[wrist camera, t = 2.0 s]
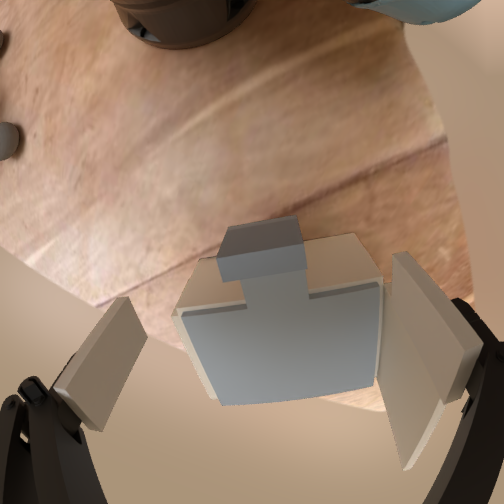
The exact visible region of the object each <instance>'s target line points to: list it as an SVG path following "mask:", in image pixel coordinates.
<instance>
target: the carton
mask: <svg viewBox="0 0 504 504" xmlns="http://www.w3.org/2000/svg"><path fill="white" fill-rule="evenodd" d="M303 242H304V247H305V254H306V261H307V268H308V269H305V271H306V278H307V285H308V293H309V294H313V293H318V292H324V291H330V290H335V289H341V288H346V287H352V286H357V285H362V284H367V283H372V282H378V284H379V286H380V305H379V327H378V342H377V354H376V365H375V374H374V378H375V377H377V381H378V384H379V387H380V390H381V394H382V397H383V400H384V403H385V407H386V410H387V413H388V417H389V420H390V424H391V428H392V431H393V435H394V439H395V442H396V446H397V450H398V454H399V458H400V462H401V466H402V470H403V471H405V470H408V469H411V468H412V466H413V465H414V463H415V462H416V460H417V458H418V457H419V455H420V453H421V452H422V450H423V448H424V447H425V445H426V443H427V442H428V440H429V438H430V436H431V434H432V433H433V431H434V429H435V427H436V425H437V423H438V421H439V419H440V417H441V415H442V413H443V411H444V409H445V407H446V405H447V404H445V405H443V403H442V400H441V398H440V396H439V394H438V392H437V390H436V387H435V385H434V383H433V381H432V379H431V377H430V375H429V373H428V371H427V369H426V367H425V365H424V363H423V361H422V359H421V357H420V355H419V353H418V351H417V349H416V347H415V345H414V343H413V342H412V340H411V338H410V336H409V334H408V332H407V330H406V329H405V327H404V325H403V323H402V321H401V320H400V318H399V316H398V314H397V313H396V311H395V309H394V307H393V306H392V304H391V294H392V282H390V283H386V284H383V274H382V273H381V271H380V270H379V268H378V267H377V265H376V264H375V262H374V261H373V259H372V258H371V256H370V255H369V253H368V252H367V251H366V249H365V248H364V246H363V245H362V243H361V242H360V240H359V239H358V238H357V236H356V235H355V233H349V234H343V235H337V236H331V237H325V238H320V239H314V240H308V241H303ZM216 257H217V256H215V257H209V258H203V259H200V260H199V262H198V264H197V266H196V268H195V270H194V272H193V274H192V276H191V278H190V279H189V280H188V282H187V284H186V286H185V288H184V290H183V292H182V294H181V296H180V298H179V300H178V302H177V304H176V307H175V309H174V311H173V313H172V315H171V318H172V320H173V323H174V325H175V327H176V329H177V332H178V334H179V336H180V338H181V340H182V343H183V345H184V347H185V349H186V351H187V353H188V355H189V357H190V359H191V362H192V363H193V366H194V368H195V370H196V372H197V373H198V376H199V378H200V380H201V382H202V384H203V385H204V387H205V389H206V391H207V393H208V395H209V397H210V399H217V398H218V397H217V395H216V393H215V391H214V389H213V387H212V385H211V383H210V381H209V379H208V377H207V375H206V373H205V370H204V368H203V366H202V364H201V362H200V360H199V358H198V355H197V353H196V351H195V349H194V347H193V344H192V342H191V340H190V337H189V335H188V333H187V331H186V328H185V326H184V324H183V321H182V319H181V315H182V313H183V312H185V311H194V310H202V309H210V308H218V307H226V306H234V305H241V304H246V301H245V297H244V294H243V290H242V286H241V283H240V280H237V281H230V282H224V283H223V281H222V278H221V275H220V271H219V268H218V264H217V261H216Z"/></svg>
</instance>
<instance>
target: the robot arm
mask: <svg viewBox="0 0 504 504" xmlns="http://www.w3.org/2000/svg"><path fill="white" fill-rule="evenodd" d="M110 1H112V2H114V5H115V7H116V10H117V12H118V14H119V17H120V19H121V21H122V23H123V25H124V26H125V27H126V29H127V30H128V31H129V32H130V33H131V34H133V35H134V36H135V37H137V38H139V39H140V40H142V41H144V42H146V43H148V44H150V45H153V46H156V47H160V48H165V49H185V48H192V47H197V46H200V45H204V44H207V43H209V42H212V41H214V40H217V39H219V38H221V37H222V36H224V35H226V34H228V33H229V32H231V31H232V30H233V29H235V28H236V27H237V26H238V25H240V24H241V23H242V22H243V21H244V20H245V19H246V17H247V16H248V15H249V14H250V12H251V11H252V9H253V7H254V6H255V3H256V1H257V0H110ZM343 1H346V2H347V3H348V4H350V5H352V6H354V7H356V8H364V9H370V10H373V11H376V12H379V13H382V14H385V15H387V16H390V17H392V18H395V19H397V20H399V21H402V22H405V23H409V24H414V25H427V24H432V23H435V22H438V23H439V22H445V21H447V20H450V19H453V18H455V17H457V16H459V15H461V14H463V13H464V12H466V11H468V10H469V9H471V8H472V7H473V6H475V5H476V4H477V3H479V2H480V1H481V0H343ZM391 304H392V306H393V307H394V309H395V311H396V313H397V314H398V316H399V318H400V320H401V321H402V323H403V325H404V327H405V329H406V330H407V332H408V334H409V336H410V338H411V340H412V342H413V343H414V345H415V347H416V349H417V351H418V353H419V355H420V357H421V359H422V361H423V363H424V365H425V367H426V369H427V371H428V373H429V375H430V377H431V379H432V381H433V383H434V385H435V387H436V390H437V392H438V394H439V396H440V398H441V400H442V403H443V405H445V404H448V403H450V402H453V401H455V400H458V399H460V398H461V397H462V395H463V392H464V390H465V388H466V389H467V391H468V393H469V395H470V396H469V398H468V400H467V402H466V404H465V406H464V408H463V409H462V411H461V412H462V413H463V415H462V418H461V421H460V424H459V427H458V430H457V432H456V435H455V437H454V440H453V442H452V445H451V447H450V450H449V452H448V454H447V457H446V459H445V461H444V463H443V466H442V468H441V470H440V472H439V474H438V476H437V478H436V480H435V482H434V484H433V486H432V488H431V490H430V491H429V493H428V495H427V497H426V499H425V500H424V502H423V504H488V502H489V499H490V497H491V494H492V492H493V489H494V486H495V484H496V481H497V478H498V475H499V472H500V469H501V466H502V463H503V460H504V342H499V341H498V339H497V338H496V337H495V336H494V334H493V333H492V332H491V330H490V329H489V328H488V327H487V325H486V324H485V323H484V322H483V320H482V319H480V317H479V316H478V314H477V313H475V311H474V310H473V308H472V307H471V306H470V305H469V304H468V303H467V302H465V301H463V300H461V299H460V298H455V299H452V300H450V299H449V298H448V297H447V296H446V295H445V293H444V292H443V291H442V290H441V289H440V287H439V286H438V285H437V284H436V283H435V282H434V281H433V279H432V278H431V277H430V276H429V275H428V274H427V273H426V272H425V270H424V269H423V268H422V267H421V266H420V265H419V264H418V263H417V262H416V261H415V260H414V258H413V257H412V256H411V255H410V254H409V253H408V252H407V251H405V252H400V253H395V254H392V294H391ZM147 338H148V336H147V334H146V332H145V331H144V328H143V326H142V324H141V322H140V320H139V318H138V316H137V314H136V312H135V310H134V308H133V305H132V303H131V301H130V299H129V297H120V298H117V299H116V300H115V301H114V302H113V304H112V305H111V306H110V308H109V309H108V310H107V312H106V313H105V314H104V316H103V317H102V318H101V320H100V321H99V322H98V323H97V325H96V326H95V328H94V329H93V330H92V332H91V333H90V334H89V336H88V337H87V338H86V340H85V341H84V343H83V344H82V345H81V347H80V348H79V350H78V351H77V352H76V353H75V354H74V355H73V356H72V357H71V358H70V360H69V361H68V363H67V365H66V366H65V367H64V369H63V371H62V372H61V373H60V374H59V376H58V377H57V379H56V380H55V382H54V383H53V385H52V386H51V388H50V389H49V391H48V390H47V388H46V387H45V386H44V385H43V383H42V382H41V381H40V379H39V378H38V377H37V376H31V377H28V378H27V379H25V380H24V381H23V382H22V383H21V384H20V386H19V388H18V391H17V392H18V393H19V394H20V395H21V397H22V398H23V399H24V400H25V401H26V402H23V401H22V400H21V398H20V397H19V396H18V395H16V394H15V395H11V396H9V397H8V398H6V399H5V401H4V402H3V404H2V407H1V411H0V504H108V503H107V500H106V498H105V496H104V493H103V490H102V488H101V485H100V482H99V480H98V477H97V474H96V471H95V469H94V465H93V462H92V459H91V456H90V453H89V449H88V446H87V442H86V439H85V435H84V432H83V430H82V428H81V427H80V424H81V422H83V423H84V424H85V425H86V426H87V427H88V428H89V429H90V430H95V431H99V432H102V431H103V429H104V427H105V425H106V422H107V420H108V418H109V416H110V414H111V411H112V409H113V407H114V405H115V403H116V401H117V399H118V397H119V395H120V392H121V390H122V388H123V386H124V383H125V382H126V380H127V378H128V376H129V374H130V372H131V369H132V367H133V366H134V364H135V362H136V360H137V358H138V356H139V354H140V352H141V349H142V348H143V346H144V344H145V342H146V340H147ZM20 433H23V434H24V435H25V436H26V437H27V438H28V442H27V443H26V442H25V441H24V440H23V439H22V438H21V437H20Z"/></svg>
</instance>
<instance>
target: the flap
mask: <svg viewBox="0 0 504 504" xmlns="http://www.w3.org/2000/svg"><path fill="white" fill-rule="evenodd" d="M216 261H217V264H218V268H219V271H220V275H221V278H222V281H223V283H224V282H230V281H237V280H240V283H241V286H242V290H243V294H244V297H245V301H246V304H241V305H234V306H226V307H218V308H210V309H202V310H194V311H185V312H183V313H182V315H181V319H182V321H183V324H184V326H185V328H186V331H187V333H188V335H189V337H190V340H191V342H192V344H193V347H194V349H195V351H196V353H197V355H198V358H199V360H200V362H201V364H202V366H203V368H204V370H205V373H206V375H207V377H208V379H209V381H210V383H211V385H212V387H213V389H214V391H215V393H216V395H217V397H218V399H219V401H220V403H221V405H222V406H223V405H224V406H225V405H245V404H259V403H271V402H281V401H290V400H297V399H305V398H312V397H319V396H325V395H331V394H337V393H342V392H347V391H352V390H357V389H362V388H366V387H371V386H373V382H374V374H375V365H376V354H377V342H378V327H379V305H380V286H379V284H378V282H372V283H367V284H362V285H357V286H352V287H346V288H341V289H335V290H330V291H324V292H318V293H313V294H309V293H308V285H307V278H306V271H305V269H308V268H307V261H306V254H305V247H304V242H303V238H302V234H301V231H300V227H299V223H298V220H297V216H296V215H292V216H286V217H280V218H275V219H269V220H264V221H258V222H253V223H247V224H242V225H237V226H231V227H228V229H227V232H226V234H225V237H224V239H223V242H222V244H221V247H220V249H219V252H218V254H217V257H216Z"/></svg>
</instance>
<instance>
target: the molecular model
mask: <svg viewBox="0 0 504 504" xmlns="http://www.w3.org/2000/svg"><path fill="white" fill-rule="evenodd" d="M2 44H3V33H2V32H1V30H0V48H1V46H2ZM18 143H19V133H18V130H17V129H16V127H15V126H14V125H13V124H11V123H9V122H2V123H0V161H2V160H6V159H8V158H9V157H10V156H12V155H13V153H14V152H15V150H16V148H17V146H18Z"/></svg>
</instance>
